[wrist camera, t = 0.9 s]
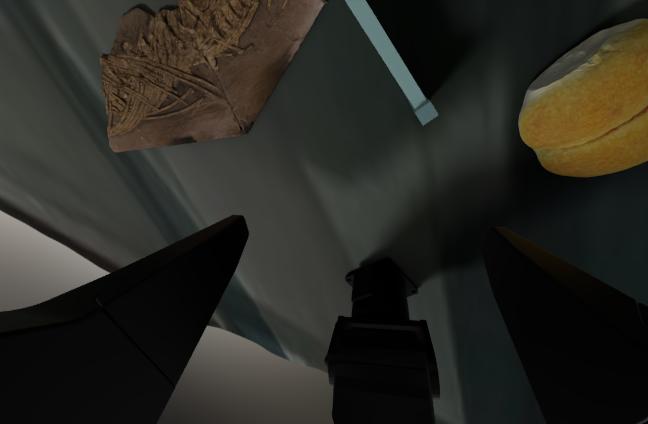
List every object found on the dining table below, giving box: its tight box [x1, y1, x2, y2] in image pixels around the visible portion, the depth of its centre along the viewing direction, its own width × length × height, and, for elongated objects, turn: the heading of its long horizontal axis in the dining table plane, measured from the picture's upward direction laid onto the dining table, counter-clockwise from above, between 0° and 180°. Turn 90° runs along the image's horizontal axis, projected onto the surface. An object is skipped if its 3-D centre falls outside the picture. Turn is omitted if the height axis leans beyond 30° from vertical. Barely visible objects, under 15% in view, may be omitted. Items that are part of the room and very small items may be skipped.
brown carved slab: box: [99, 0, 328, 152], centre depth 20 cm, size 26×11×1 cm, turn 115°
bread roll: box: [518, 19, 648, 177], centre depth 15 cm, size 8×9×4 cm
